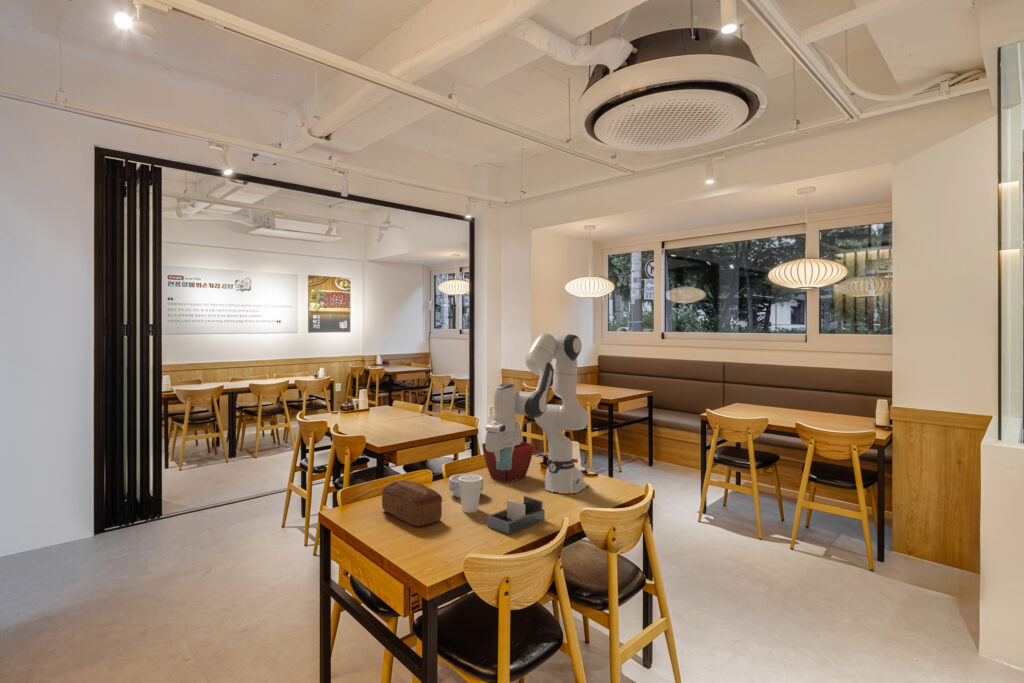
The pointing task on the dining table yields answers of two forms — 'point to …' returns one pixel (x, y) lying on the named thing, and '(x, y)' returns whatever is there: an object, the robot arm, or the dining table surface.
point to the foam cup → (470, 492)
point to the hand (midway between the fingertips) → (504, 459)
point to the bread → (412, 503)
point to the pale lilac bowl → (455, 484)
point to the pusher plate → (515, 509)
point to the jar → (505, 458)
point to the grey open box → (509, 526)
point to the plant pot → (518, 465)
